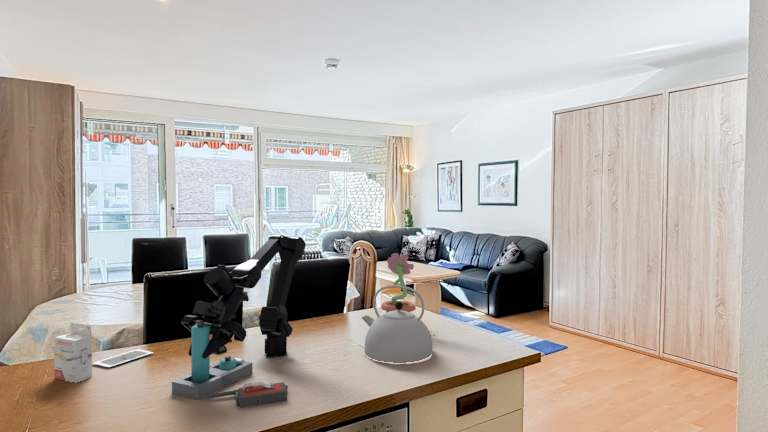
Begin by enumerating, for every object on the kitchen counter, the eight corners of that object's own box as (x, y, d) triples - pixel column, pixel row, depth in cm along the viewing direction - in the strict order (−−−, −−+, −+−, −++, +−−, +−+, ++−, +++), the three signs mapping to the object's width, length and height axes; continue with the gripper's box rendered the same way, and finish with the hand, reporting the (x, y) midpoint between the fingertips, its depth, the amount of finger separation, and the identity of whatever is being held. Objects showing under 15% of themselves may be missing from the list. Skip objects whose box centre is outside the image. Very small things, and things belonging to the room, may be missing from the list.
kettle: (345, 358, 145) (346, 287, 144) (374, 339, 166) (375, 277, 165) (420, 369, 135) (421, 294, 135) (440, 348, 156) (441, 282, 156)
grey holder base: (228, 368, 134) (228, 349, 134) (252, 372, 130) (252, 354, 130) (171, 393, 116) (171, 371, 116) (198, 399, 112) (198, 377, 112)
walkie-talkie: (285, 388, 121) (205, 400, 113) (285, 372, 121) (205, 382, 113) (292, 401, 113) (206, 415, 105) (292, 384, 112) (206, 396, 105)
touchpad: (91, 366, 135) (91, 359, 135) (137, 352, 149) (137, 345, 149) (108, 371, 132) (108, 363, 132) (154, 355, 146) (154, 349, 146)
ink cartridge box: (53, 379, 124) (52, 326, 124) (70, 373, 129) (70, 321, 128) (75, 383, 121) (75, 329, 121) (93, 377, 126) (93, 324, 126)
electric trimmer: (201, 343, 159) (201, 334, 159) (227, 351, 150) (227, 342, 150) (191, 346, 156) (191, 337, 156) (217, 354, 147) (217, 345, 147)
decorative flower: (422, 325, 185) (423, 252, 184) (410, 334, 172) (411, 255, 172) (389, 321, 191) (389, 250, 190) (375, 329, 178) (375, 253, 178)
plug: (207, 379, 122) (207, 318, 121) (211, 384, 118) (211, 321, 118) (190, 382, 119) (190, 320, 119) (193, 388, 116) (193, 324, 115)
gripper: (186, 286, 125) (151, 336, 116) (239, 291, 118) (206, 345, 108) (208, 308, 133) (177, 357, 123) (259, 315, 125) (230, 367, 115)
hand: (196, 356), depth 117 cm, fingers closed on plug, 4 cm apart
